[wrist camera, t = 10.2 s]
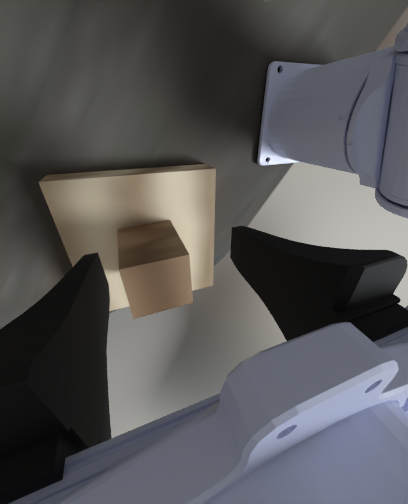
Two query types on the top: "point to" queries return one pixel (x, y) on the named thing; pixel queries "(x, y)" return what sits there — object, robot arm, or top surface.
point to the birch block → (134, 214)
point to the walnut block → (154, 268)
